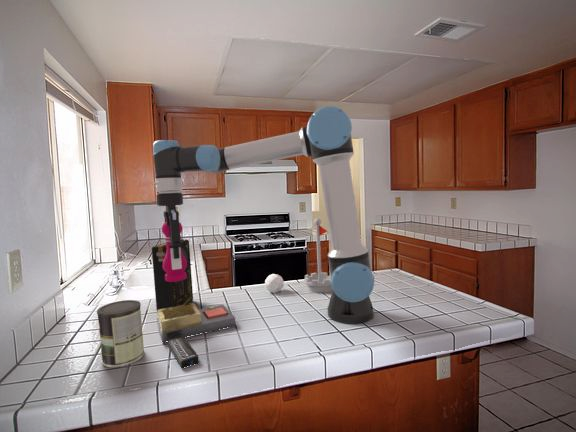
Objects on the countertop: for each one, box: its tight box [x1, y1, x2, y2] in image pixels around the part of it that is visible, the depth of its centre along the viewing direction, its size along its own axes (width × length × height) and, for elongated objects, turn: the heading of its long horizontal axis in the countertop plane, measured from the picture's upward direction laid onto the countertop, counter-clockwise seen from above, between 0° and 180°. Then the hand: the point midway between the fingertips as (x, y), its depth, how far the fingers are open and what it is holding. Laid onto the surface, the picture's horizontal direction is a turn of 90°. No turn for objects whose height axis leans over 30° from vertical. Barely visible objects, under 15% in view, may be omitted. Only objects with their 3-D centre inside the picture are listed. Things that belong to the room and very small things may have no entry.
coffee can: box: [96, 299, 145, 368], centre depth 88 cm, size 10×10×14 cm
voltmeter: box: [151, 238, 194, 313], centre depth 125 cm, size 16×9×25 cm, turn 168°
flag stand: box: [304, 217, 332, 294], centre depth 140 cm, size 13×13×30 cm
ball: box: [264, 273, 285, 294], centre depth 139 cm, size 8×8×8 cm
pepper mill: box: [161, 221, 187, 282], centre depth 103 cm, size 7×7×20 cm
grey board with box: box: [156, 302, 236, 343], centre depth 107 cm, size 14×22×6 cm, turn 117°
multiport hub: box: [167, 337, 200, 369], centre depth 89 cm, size 4×14×2 cm, turn 32°
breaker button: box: [204, 307, 227, 319], centre depth 110 cm, size 6×6×3 cm
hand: (175, 266), depth 103 cm, fingers closed on pepper mill, 7 cm apart
